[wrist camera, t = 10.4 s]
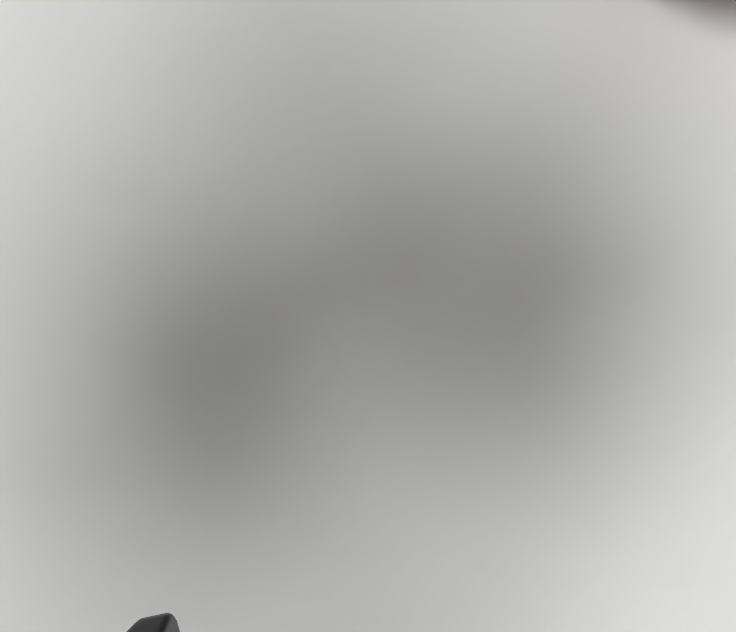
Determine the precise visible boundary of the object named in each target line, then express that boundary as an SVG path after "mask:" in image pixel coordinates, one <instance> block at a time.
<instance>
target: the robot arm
mask: <svg viewBox="0 0 736 632" xmlns="http://www.w3.org/2000/svg"><path fill="white" fill-rule="evenodd" d="M127 632H180V631H179V627H178V624H177V621H176V619H175V617H174V616H173V615H172V614H170V613H165V614H160V615H155V616H150V617H145V618H142V619H140V620H138V621H137V622H136V623H135V624H134V625H133V626H132V627H131V628H130V629H129V630H128V631H127Z"/></svg>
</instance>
